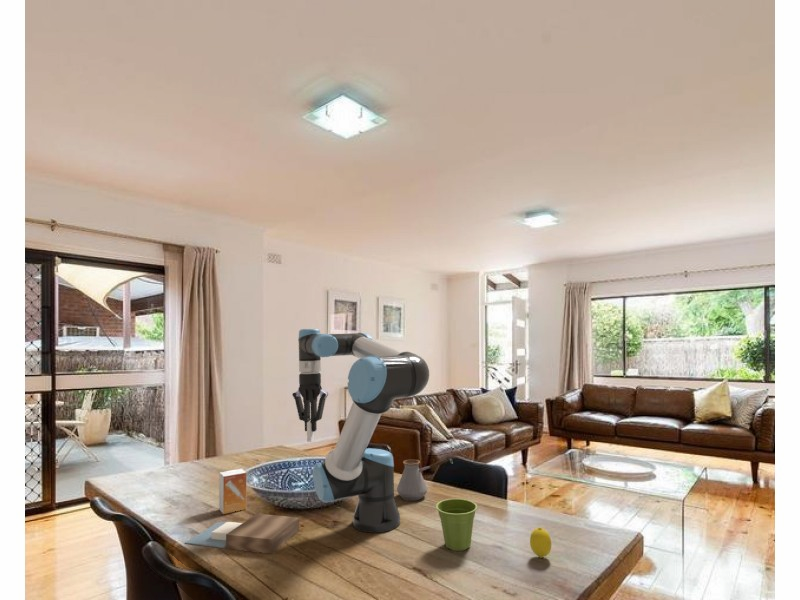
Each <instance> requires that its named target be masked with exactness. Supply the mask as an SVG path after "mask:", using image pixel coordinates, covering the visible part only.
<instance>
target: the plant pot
mask: <svg viewBox="0 0 800 600" xmlns="http://www.w3.org/2000/svg"><path fill="white" fill-rule="evenodd" d="M435 508H436V510H437V511H438V516H439V518H440V523H441V524H440V525H441V528H442V534H443V539H444V544H445V547H446V548H447V549H450V550H452V551H453V552H454V551H455V552H458V551H459V552H462V551H465V550H467V549H469V548H470V547H471V543H472V538H473V537H472V535H473V528H474V518H475V516H476V511H477V509H478V505H477V503H476V502H474V501H472V500H469V499H464V498H447V499H443V500H441V501H438V502H437V503H436V504H435Z"/></svg>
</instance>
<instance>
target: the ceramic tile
mask: <svg viewBox="0 0 800 600" xmlns="http://www.w3.org/2000/svg"><path fill="white" fill-rule="evenodd" d="M225 522H226V523H225V524H223V525H222V526H220V527H219V528H217V529H215V530H214V531H212V532H211V539H218V540H226V534H227V533H229V532H230V531H232V530H233V529H235V528H236V527H238V526H239V525H241V524H242V523H243V522H235V521H225Z"/></svg>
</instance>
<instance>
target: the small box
mask: <svg viewBox="0 0 800 600" xmlns="http://www.w3.org/2000/svg"><path fill="white" fill-rule="evenodd" d="M218 480H219V481H218V482H219V483H218V485H219V486H218V491H219V492H218V508H219V509H218V510H219V511H220V512H221V513H222V515H226V514H231V513H235V511H236V512H240V510H241V511H245V510H244V509H246V510H247V471H245V470H244V469H243V468H238V469H232V470H226V471H221V472H219V478H218Z"/></svg>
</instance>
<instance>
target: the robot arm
mask: <svg viewBox="0 0 800 600" xmlns="http://www.w3.org/2000/svg"><path fill="white" fill-rule="evenodd" d="M297 339H298V367H299V368H298V371H299V374H298V383H299V386H298V388H297V389H298V390H297V391H295V392H292V397H293V399H294V400H295V405H296V409H297V414H298V419H299V420H300V421H303V422H304V431H305V432H306V442H308V443H309V442H311V443H312V442H313V441H315V432H317V429H318V428H317V422H318V421H321V420H322V418H323V415H324V408H325V404H326V400H327V397H328V396H329V393H328V391H326V392H325V391H324V390H323V388H322V384H321V383H322V379H321V378H322V373H320V372H321V371H322V367H321V364H322V363H321V358H330V357H337V356H338V357H339V356H353V357H356V358H357V360H355V362H354V363H353V364H352V365H351V367H350V370H349V371H348V375H347V379H348V382H347V389H348V394H349V396H350V397H351V400H352V404H351V407H350V410H349V412H348V415H347V417H346V419H345V421H344V425H343V427H342V429H341V431H340V435H339V437H338V439H337V441H336V444H335V447H334V449H332V450H330V451H329V452H327V454H326V457H325V459H324V460H323V462H320V461H319V462H318V463H316V464H314V465H313V470H312V479H313V485H314V489H315V493H316V496H317V498H318V499H319V501H321V502H322V503H331V502H333V503H334V502H337V501H340V500H341V501H342V500H344V499H348V498H352V497H357V498H358V499H357V503H356V506H355V511H354V514H353V517H352V519H353V520H352V521H353V522H352V523H353V524H352V526H353V527H354V528H355V529H356V530H358V531H361V532H366V533H384V532H389V531H392V530H393V529H396V528H397V527H398V526H399V525H400V524H401V516H400V515H401V514H400V511H399V509H398V505H397V502H396V499H395V482H394V481H395V478H394V477H395V471H394V469H395V468H394V467H395V463H394V456H393V453H391V452H390V451H388V450H386V449H379V448H370V447H368V446H369V443H370V441H371V439H372V437H373V434H374V432H375V430H376V428H377V426H378V423H379V421H380V419H381V416H382V414H386V413H387V412H388V411H389V410H390V409H391V408H392V405H393V404H394V401H395V400H396V399H403V398H404V399H405V398H411V397H414V396H416V395H418V394H420V393H421V392H422V391H423V390H424V389H425V388H426V386H427V384H428V382H429V380H430V370H429V366H428V364H427V362H426V361H425V359H424V358H422V356H420V355H418V354H416V353H413V352H410V351H402V352H401V351H399V350H397V349H395V348H392V347H391V346H388V345H385V344H383V343H380V342H378V341H376V340H373V337H372V336H371V335H370V334H369V333H368V332H367V333H366V332H364V333H362V332H357V333H355V332H354V333H321V331H320V329H319V328H302V329H300V330H299V331H298V338H297ZM318 397H319V400H318ZM318 401H319V402H318ZM317 402H318V403H317ZM367 447H368V448H367Z"/></svg>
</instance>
